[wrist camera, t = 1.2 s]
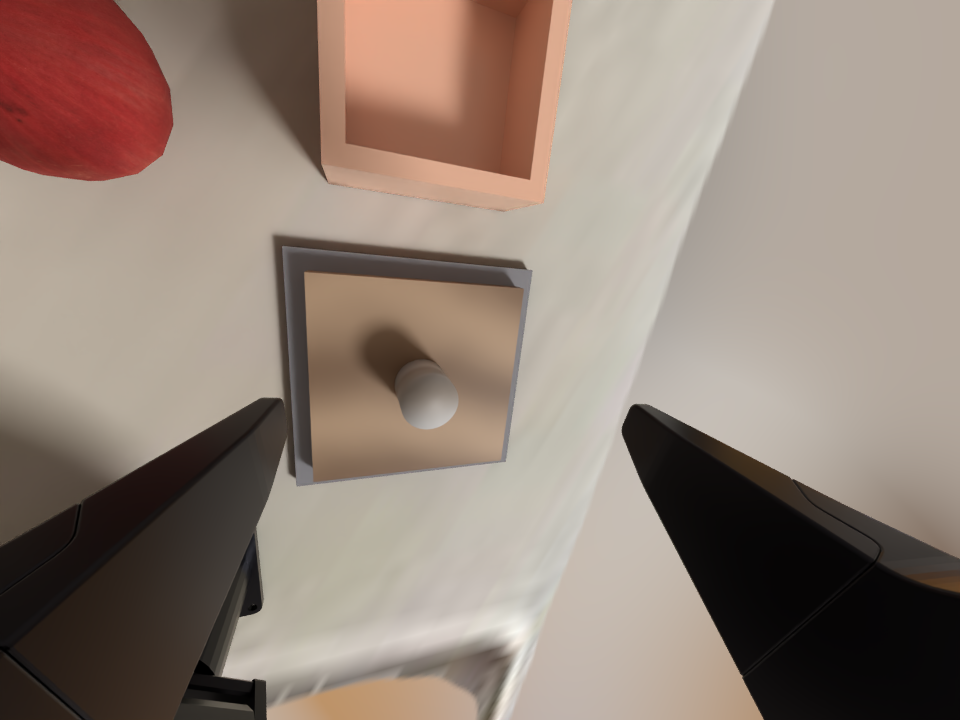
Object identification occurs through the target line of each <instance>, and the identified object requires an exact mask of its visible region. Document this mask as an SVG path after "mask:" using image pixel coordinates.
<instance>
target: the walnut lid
mask: <svg viewBox="0 0 960 720" xmlns="http://www.w3.org/2000/svg"><path fill="white" fill-rule="evenodd" d="M304 279H305V302H306V325H307V348H308V371H309V394H310V417H311V440H312V462H313V482H319V481H328V480H336V479H345V478H353V477H362V476H371V475H379V474H388V473H396V472H405V471H413V470H422V469H430V468H439V467H447V466H456V465H465V464H473V463H482V462H490V461H499V460H501V456H502V448H503V441H504V433H505V426H506V419H507V411H508V404H509V396H510V389H511V382H512V374H513V367H514V360H515V352H516V345H517V337H518V330H519V323H520V315H521V308H522V300H523V293H524V289H523V288H520V287H516V286H505V285H492V284H479V283H466V282H453V281H440V280H427V279H414V278H401V277H388V276H375V275H362V274H349V273H336V272H323V271H310V270H307V271H305V272H304Z"/></svg>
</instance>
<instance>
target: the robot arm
mask: <svg viewBox="0 0 960 720" xmlns="http://www.w3.org/2000/svg"><path fill="white" fill-rule="evenodd" d="M287 433H288V425H287V419H286V413H285V408H284V403H283V401H282V399H280V398H260V399H258V400H257V401H255V402H253V403H251V404H250V405H248V406H246V407H244V408H243V409H241V410H239V411H237V412H236V413H234V414H232V415H230V416H229V417H227V418H225V419H223V420H222V421H220V422H218V423H216V424H215V425H213V426H211V427H209V428H208V429H206V430H204V431H202V432H201V433H199V434H197V435H195V436H194V437H192V438H190V439H188V440H187V441H185V442H183V443H182V444H180V445H178V446H176V447H175V448H173V449H171V450H169V451H168V452H166V453H164V454H162V455H161V456H159V457H157V458H155V459H154V460H152V461H150V462H148V463H147V464H145V465H143V466H141V467H140V468H138V469H136V470H134V471H133V472H131V473H129V474H127V475H126V476H124V477H122V478H120V479H119V480H117V481H115V482H113V483H112V484H110V485H108V486H106V487H105V488H103V489H101V490H99V491H98V492H96V493H94V494H92V495H91V496H89V497H87V498H85V499H84V500H82V502H81V504H75V505H73V506H71V507H70V508H68V509H66V510H64V511H63V512H61V513H59V514H57V515H56V516H54V517H52V518H50V519H49V520H47V521H45V522H43V523H41V524H40V525H38V526H36V527H34V528H32V529H31V530H29V531H27V532H25V533H23V534H22V535H20V536H18V537H16V538H14V539H13V540H11V541H9V542H7V543H5V544H4V545H2V546H0V720H267V718H266V681H264V680H258V679H253V680H252V681H247V680H240V679H234V678H227V677H221V676H222V672H223V669H224V666H225V662H226V659H227V656H228V652H229V649H230V646H231V642H232V639H233V636H234V632H235V629H236V626H237V622H238V619H239V617H242V616H247V615H251V614H255V613H257V612H259V611H260V610H261V609H262V605H263V600H264V598H263V589H262V579H261V569H260V560H259V550H258V541H257V531H256V526H257V523H258V521H259V519H260V516H261V514H262V512H263V509H264V507H265V505H266V502H267V500H268V497H269V494H270V491H271V488H272V485H273V482H274V478H275V475H276V471H277V468H278V465H279V461H280V458H281V454H282V451H283V448H284V444H285V441H286V437H287ZM622 435H623V438H624V440H625V443H626V445H627V448H628V451H629V453H630V455H631V458H632V460H633V463H634V465H635V468H636V470H637V473H638V475H639V478H640V480H641V482H642V484H643V487H644V489H645V491H646V493H647V495H648V497H649V499H650V500H651V502H652V504H653V506H654V508H655V510H656V512H657V514H658V516H659V518H660V520H661V522H662V524H663V526H664V527H665V529H666V531H667V533H668V535H669V537H670V539H671V541H672V543H673V545H674V547H675V549H676V550H677V552H678V554H679V556H680V558H681V560H682V562H683V564H684V566H685V568H686V570H687V572H688V574H689V576H690V578H691V580H692V581H693V583H694V585H695V587H696V589H697V591H698V593H699V595H700V597H701V599H702V601H703V603H704V605H705V606H706V608H707V610H708V612H709V614H710V616H711V618H712V620H713V622H714V624H715V626H716V628H717V630H718V632H719V633H720V635H721V637H722V639H723V641H724V643H725V645H726V647H727V649H728V651H729V653H730V655H731V657H732V658H733V660H734V662H735V664H736V666H737V668H738V670H739V672H740V674H741V675H742V676H743V677H742V678H743V680H744V682H745V684H746V686H747V688H748V690H749V692H750V694H751V696H752V698H753V700H754V702H755V704H756V706H757V707H758V709H759V711H760V713H761V715H762V717H763V719H764V720H960V559H959V558H957V557H954V556H952V555H950V554H948V553H946V552H943V551H941V550H939V549H937V548H935V547H933V546H931V545H928V544H926V543H924V542H922V541H920V540H918V539H916V538H914V537H911V536H909V535H907V534H905V533H903V532H901V531H899V530H897V529H894V528H892V527H890V526H888V525H886V524H884V523H882V522H879V521H877V520H875V519H873V518H871V517H869V516H867V515H865V514H863V513H861V512H859V511H856V510H854V509H852V508H850V507H848V506H846V505H844V504H842V503H840V502H838V501H836V500H834V499H832V498H830V497H828V496H826V495H824V494H822V493H820V492H818V491H816V490H814V489H812V488H810V487H808V486H806V485H804V484H802V483H800V482H798V481H796V480H794V479H793V480H792V479H791V478H790V477H788V476H786V475H784V474H783V473H781V472H779V471H777V470H775V469H772V468H771V467H769V466H767V465H765V464H763V463H761V462H759V461H757V460H755V459H753V458H751V457H749V456H747V455H745V454H744V453H742V452H739V451H738V450H735V449H734V448H732V447H730V446H728V445H726V444H724V443H722V442H720V441H718V440H716V439H714V438H712V437H710V436H708V435H707V434H705V433H703V432H701V431H699V430H697V429H695V428H693V427H691V426H689V425H687V424H685V423H683V422H681V421H679V420H677V419H675V418H673V417H671V416H669V415H668V414H666V413H664V412H661V411H660V410H658V409H656V408H654V407H652V406H650V405H647V404H634V405H632V406H631V407H630V409H629V412H628V414H627V416H626V419H625V421H624V423H623V426H622Z"/></svg>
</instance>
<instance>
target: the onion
mask: <svg viewBox="0 0 960 720" xmlns="http://www.w3.org/2000/svg"><path fill="white" fill-rule="evenodd" d="M172 127H173V116H172V106H171V95H170V88H169V86H168V84H167V82H166V79H165V77H164V75H163V73H162V71H161V69H160V66H159V64H158V62H157V60H156V58H155V56H154V53H153V51H152V50H151V48H150V46H149V45H148V43H147V41H146V40H145V38H144V36H143V35H142V33H141V32H140V31H139V30H138V28H137V27H136V26H135V25H134V24H133V23H132V21H131V20H130V19H129V18H128V17H127V16H126V14H125V13H124V12H123V11H122V10H121V9H120V8H119V6H118V5H117V4H116V3H115V2H114V1H113V0H0V160H1V161H4V162H6V163H9V164H11V165H14V166H16V167H18V168H21V169H23V170H27V171H31V172H34V173H38V174H42V175H47V176H55V177H63V178H71V179H78V180H86V181H104V180H109V179H114V178H119V177H124V176H129V175H134V174H138V173H139V172H141V171H142V170H143V169H145V168H146V167H147V166H149V165H150V164H151V163H152V162H154V161H155V160H156V159H158V158H159V157H160V156H162V155H163V152H164V150H165V147H166V144H167V141H168V138H169V136H170V133H171V130H172Z"/></svg>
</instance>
